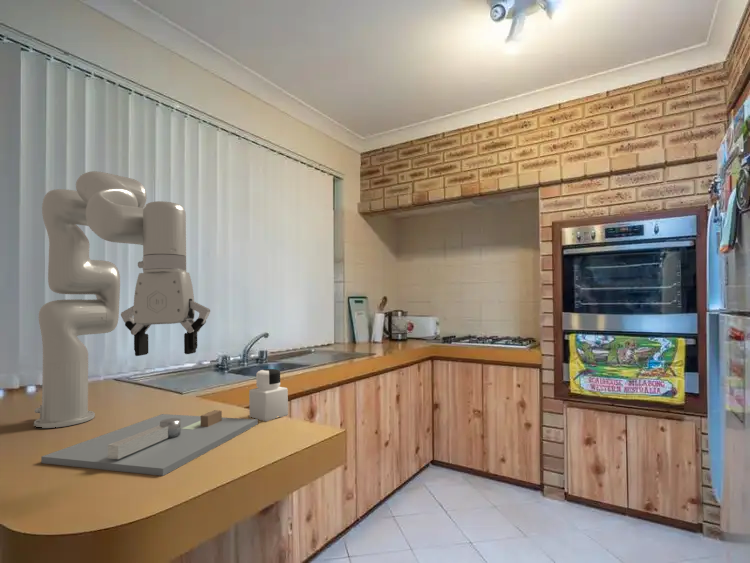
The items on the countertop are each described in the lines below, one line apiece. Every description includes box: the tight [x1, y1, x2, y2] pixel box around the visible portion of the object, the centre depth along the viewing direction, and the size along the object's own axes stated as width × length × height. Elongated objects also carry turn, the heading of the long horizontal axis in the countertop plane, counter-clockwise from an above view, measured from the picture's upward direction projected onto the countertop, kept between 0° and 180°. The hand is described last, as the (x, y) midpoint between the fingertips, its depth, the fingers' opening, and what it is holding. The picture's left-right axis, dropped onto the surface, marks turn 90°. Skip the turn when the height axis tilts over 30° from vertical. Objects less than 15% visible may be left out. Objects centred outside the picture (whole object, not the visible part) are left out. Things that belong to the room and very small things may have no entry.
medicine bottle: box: [248, 368, 289, 422], centre depth 106 cm, size 7×7×12 cm
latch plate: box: [40, 409, 259, 477], centre depth 89 cm, size 28×30×4 cm
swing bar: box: [108, 418, 181, 459], centre depth 82 cm, size 16×4×3 cm, turn 165°
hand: (166, 354), depth 79 cm, fingers open, 9 cm apart
